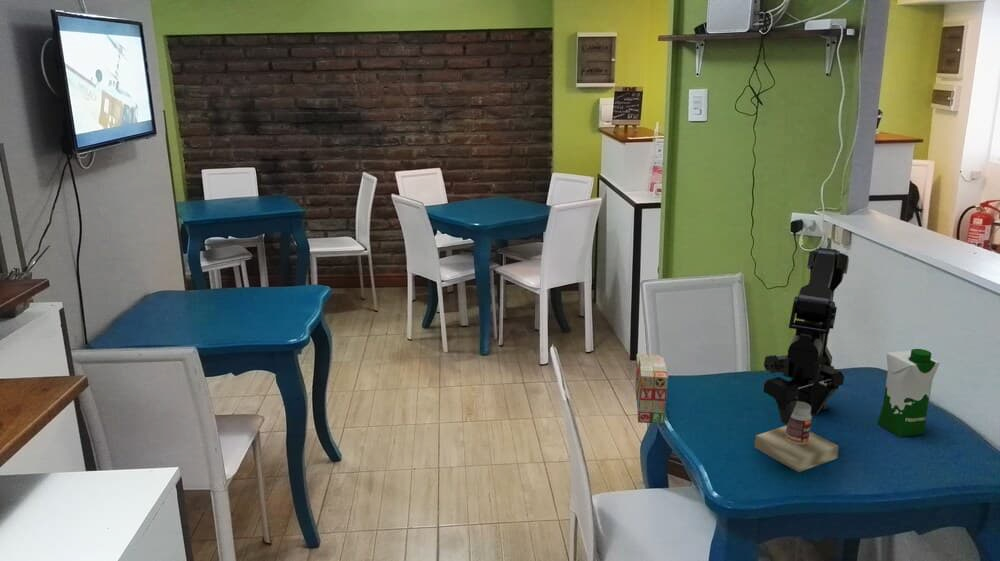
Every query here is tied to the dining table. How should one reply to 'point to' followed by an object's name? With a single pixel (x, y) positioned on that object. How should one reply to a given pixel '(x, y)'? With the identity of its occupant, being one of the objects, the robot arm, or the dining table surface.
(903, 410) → the milk carton
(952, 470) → the dining table surface
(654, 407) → the stack of blocks
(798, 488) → the dining table surface
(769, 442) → the birch block
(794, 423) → the pill bottle
